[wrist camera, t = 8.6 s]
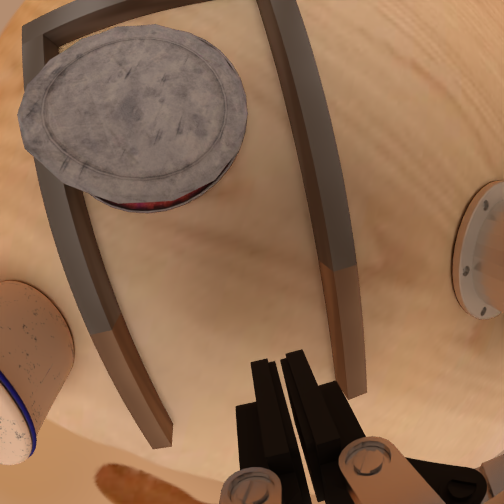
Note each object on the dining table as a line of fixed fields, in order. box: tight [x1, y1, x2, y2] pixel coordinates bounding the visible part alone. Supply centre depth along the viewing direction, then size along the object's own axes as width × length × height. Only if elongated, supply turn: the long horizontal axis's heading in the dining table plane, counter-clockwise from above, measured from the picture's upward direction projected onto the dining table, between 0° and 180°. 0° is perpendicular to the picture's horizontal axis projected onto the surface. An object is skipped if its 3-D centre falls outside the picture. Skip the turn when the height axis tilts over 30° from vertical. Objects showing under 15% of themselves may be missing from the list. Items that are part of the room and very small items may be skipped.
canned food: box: [17, 24, 248, 213], centre depth 14 cm, size 11×10×10 cm
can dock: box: [22, 0, 367, 449], centre depth 17 cm, size 16×30×2 cm, turn 13°
